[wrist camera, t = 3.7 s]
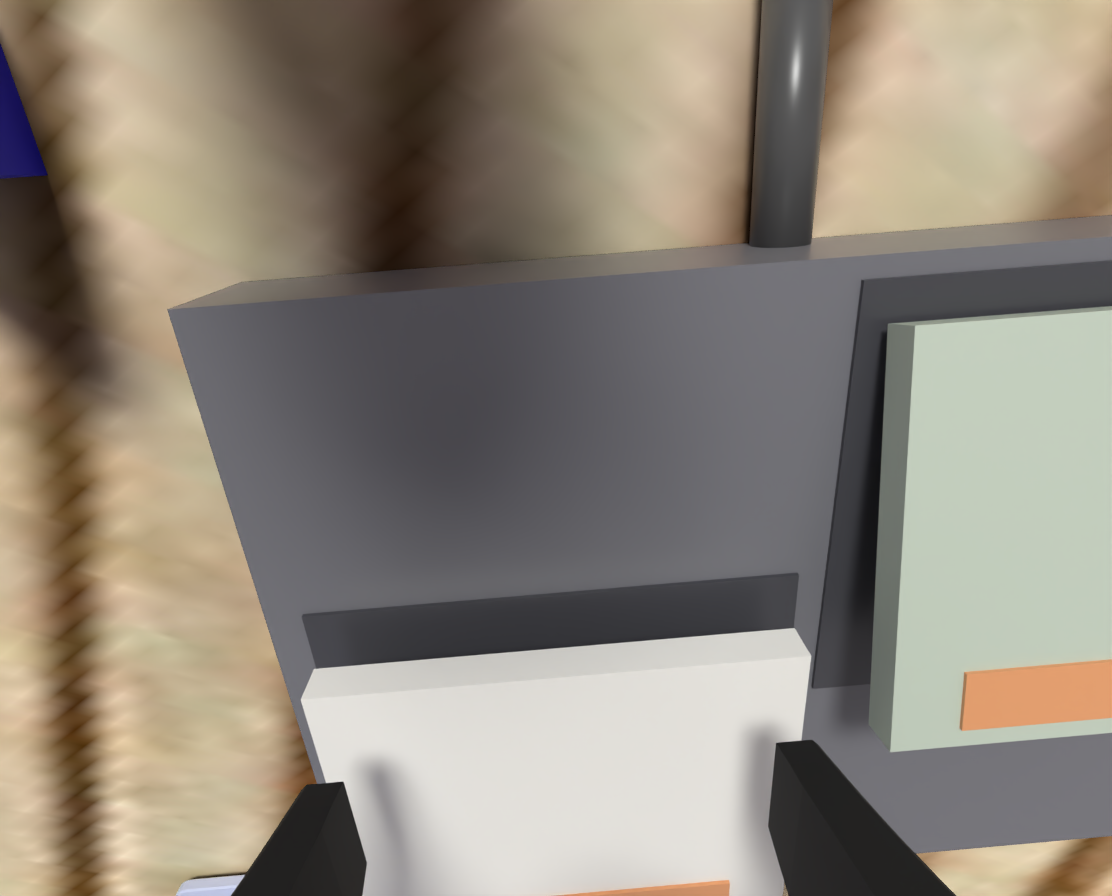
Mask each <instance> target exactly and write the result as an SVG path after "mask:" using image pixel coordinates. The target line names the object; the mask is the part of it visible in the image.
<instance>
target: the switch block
mask: <svg viewBox="0 0 1112 896" xmlns="http://www.w3.org/2000/svg"><path fill="white" fill-rule="evenodd" d="M832 8H833V0H762V13H761V32H760V51H759V70H758V89H757V108H756V127H755V146H754V165H753V184H752V203H751V222H750V241H749V243H743V244H730V245H717V246H704V247H691V248H678V249H665V250H652V251H639V252H626V253H613V254H600V255H587V256H574V257H561V258H548V259H535V260H522V261H508V262H495V263H482V264H469V265H456V266H443V267H430V268H417V269H404V270H391V271H378V272H365V273H352V274H339V275H326V276H313V277H300V278H287V279H274V280H261V281H248V282H240V283H238V284H235V285H232V286H230V287H227V288H224V289H222V290H219V291H216V292H213V293H211V294H208V295H205V296H203V297H200V298H197V299H195V300H192V301H189V302H186V303H184V304H181V305H178V306H176V307H173V308H170V309H167V310H168V313H169V316H170V320H171V323H172V326H173V329H174V332H175V335H176V338H177V342H178V345H179V348H180V351H181V354H182V357H183V361H184V364H185V367H186V370H187V373H188V376H189V380H190V383H191V386H192V389H193V392H194V395H195V399H196V402H197V405H198V408H199V411H200V414H201V418H202V421H203V424H204V427H205V430H206V433H207V437H208V440H209V443H210V446H211V449H212V452H213V456H214V459H215V462H216V465H217V468H218V471H219V475H220V478H221V481H222V484H223V487H224V490H225V493H226V497H227V500H228V503H229V506H230V509H231V512H232V516H233V519H234V522H235V525H236V528H237V531H238V535H239V538H240V541H241V544H242V547H243V550H244V554H245V557H246V560H247V563H248V566H249V569H250V573H251V576H252V579H253V582H254V585H255V588H256V592H257V595H258V598H259V601H260V604H261V607H262V611H263V614H264V617H265V620H266V623H267V626H268V630H269V633H270V636H271V639H272V642H273V645H274V648H275V652H276V655H277V658H278V661H279V664H280V667H281V671H282V674H283V677H284V680H285V683H286V686H287V690H288V693H289V696H290V699H291V702H292V705H293V709H294V712H295V715H296V718H297V721H298V724H299V728H300V731H301V734H302V737H303V740H304V743H305V747H306V750H307V753H308V756H309V759H310V762H311V766H312V769H313V772H314V775H315V778H316V781H317V784H321V783H326V781H325V778H324V775H323V771H322V768H321V765H320V762H319V758H318V755H317V752H316V748H315V745H314V742H313V739H312V735H311V732H310V729H309V726H308V722H307V719H306V716H305V713H304V709H303V706H302V703H301V698H302V696H303V693H304V691H305V689H306V686H307V684H308V682H309V679H310V677H311V675H312V672H313V670H314V669H319V668H331V667H343V666H355V665H366V664H378V663H390V662H402V661H413V660H425V659H437V658H448V657H460V656H472V655H484V654H495V653H507V652H519V651H531V650H542V649H554V648H566V647H578V646H589V645H601V644H613V643H625V642H636V641H648V640H660V639H671V638H683V637H695V636H707V635H718V634H730V633H742V632H754V631H765V630H777V629H789V628H795V630H796V631H797V633H798V635H799V636H800V638H801V640H802V641H803V643H804V645H805V646H806V648H807V650H808V651H809V653H810V655H811V663H810V671H809V680H808V688H807V697H806V705H805V713H804V722H803V730H802V738H801V741H802V740H813V741H815V742H816V743H817V744H818V745H819V746H820V747H821V748H822V750H823V751H824V752H825V753H826V754H827V755H828V757H829V758H830V759H831V760H832V761H833V762H834V764H835V765H836V766H837V767H838V768H839V769H840V771H841V772H842V773H843V774H844V775H845V776H846V778H847V779H848V780H849V781H850V782H851V783H852V785H853V786H854V787H855V788H856V789H857V790H858V791H859V792H860V794H861V795H862V796H863V797H864V798H865V799H866V800H867V801H868V803H869V804H870V805H871V806H872V807H873V808H874V809H875V810H876V812H877V813H878V814H879V815H880V816H881V817H882V818H883V819H884V820H885V822H886V823H887V824H888V825H889V826H890V827H891V828H892V829H893V830H894V831H895V832H896V834H897V835H898V836H899V837H900V838H901V839H902V840H903V841H904V842H905V843H906V844H907V845H908V846H909V847H910V848H911V849H912V851H913V852H914V853H915V854H916V853H927V852H938V851H949V850H960V849H971V848H982V847H993V846H1004V845H1016V844H1027V843H1038V842H1049V841H1060V840H1071V839H1082V838H1093V837H1104V836H1112V733H1103V734H1092V735H1080V736H1069V737H1058V738H1046V739H1035V740H1024V741H1012V742H1001V743H990V744H978V745H967V746H956V747H944V748H933V749H921V750H910V751H899V752H890V751H889V750H888V749H887V747H886V746H885V745H884V744H883V742H882V741H881V740H880V738H879V737H878V736H877V735H876V733H875V732H874V731H873V729H872V728H871V727H870V726H869V705H870V684H871V663H872V642H873V622H874V601H875V580H876V559H877V539H878V518H879V497H880V476H881V456H882V435H883V414H884V393H885V373H886V352H887V331H888V324H891V323H904V322H916V321H929V320H942V319H954V318H967V317H980V316H992V315H1005V314H1018V313H1030V312H1043V311H1056V310H1068V309H1081V308H1094V307H1107V306H1112V215H1107V216H1094V217H1081V218H1068V219H1055V220H1042V221H1029V222H1016V223H1003V224H990V225H977V226H964V227H951V228H938V229H925V230H912V231H899V232H886V233H873V234H860V235H847V236H834V237H821V238H812V229H813V218H814V207H815V196H816V185H817V174H818V163H819V152H820V141H821V130H822V119H823V108H824V96H825V85H826V74H827V63H828V52H829V41H830V30H831V19H832Z"/></svg>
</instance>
